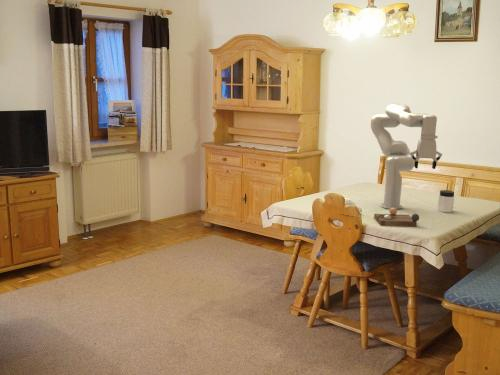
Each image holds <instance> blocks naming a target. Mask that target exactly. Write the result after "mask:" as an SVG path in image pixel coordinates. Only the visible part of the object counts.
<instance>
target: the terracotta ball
mask: <svg viewBox="0 0 500 375" xmlns="http://www.w3.org/2000/svg"><path fill="white" fill-rule="evenodd" d="M389 214H391V215H395V214H398V209H395V208H391V209H389Z"/></svg>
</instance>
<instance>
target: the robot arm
mask: <svg viewBox="0 0 500 375" xmlns="http://www.w3.org/2000/svg"><path fill="white" fill-rule="evenodd" d="M384 111H385V113H377V114H375V115H373V116H372V117H371V120H370V128H371V131H372V134H373V135H374V137H375V139H376V141H377V143H378V145H379V147H380V150H381V151H382V152H381V153H383V155H384V157H386V159H385V163H384V164H385V165H384V166H385V182H384V183H385V185H384V194H383V195H384V196H383V199H384V200H383V203H381V205H380V207H381V208H382V209H383V208H384V209H388V210H390V209H391V208H395V209H396V210H401V209H403V205H401V197H402V196H401V195H402V185H403V184H402V183H403V179H402V175H401V173H400V172H408V171H409V172H410V171H412V170H413V169H414V168H415V169H418V168H419V160H420V159H432V164H431V166H432V167H431V168H432V169H433V170H436V168H437V163H438V162H439V160H440V159H441V157H442V156H443V154H442V153H441V152H439V151H438V150H437V141H436V139H438V138H439V136H438V135H437V134H436V132H437V121H438V119H437V118H438V117H437V116H436V115H433V114H428V113H412V111H411V109H410V106H408V105H407V104H406V103H391V104H389V105H387V106H386V107H385V110H384ZM400 125H403V126H405V127H409V128H421V132H420V139H418V141H417V146H416V150H414V151H410V149H409V147H408V144H407V143H406V142H404V141H402V140H394V139H393V137H392V135H391V133H390V132H389V131H388V130H387V129H386V128H396V127H398V126H400Z"/></svg>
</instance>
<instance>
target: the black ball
mask: <svg viewBox="0 0 500 375" xmlns="http://www.w3.org/2000/svg"><path fill="white" fill-rule="evenodd" d="M411 217H412V220H413V221H416V222H418V221H419V220H420V216H419V214H417V213H413V214H412V215H411Z"/></svg>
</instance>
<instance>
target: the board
mask: <svg viewBox="0 0 500 375" xmlns="http://www.w3.org/2000/svg"><path fill="white" fill-rule="evenodd" d="M373 215H374V216H373V219H374V218H375V219H376V220H375V219H374V220H375V221H376V222H377V223H378V224H379V225H380V226H389V227H390V226H391V227H415V228H417V224H418V221H413V220H412V216H411V215H410V214H398V213H396V214H395V215H391V214H390V213H374V214H373ZM385 215H389V216H390V217H391V219H386V218H384V216H385Z"/></svg>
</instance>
